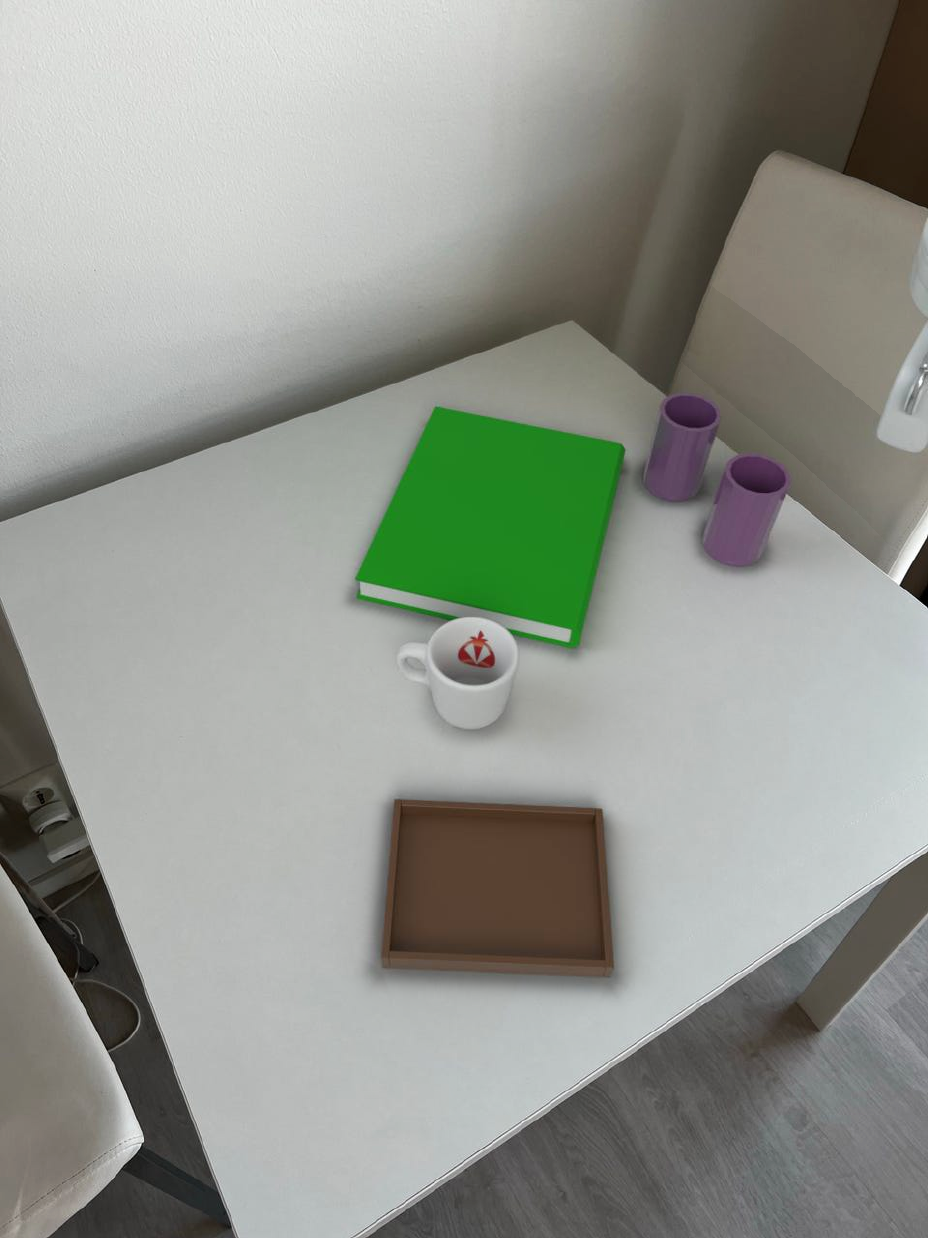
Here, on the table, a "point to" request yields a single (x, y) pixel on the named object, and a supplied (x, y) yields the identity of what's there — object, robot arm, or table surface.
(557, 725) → the table surface
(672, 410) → the tumbler
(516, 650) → the cup
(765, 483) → the plum tumbler
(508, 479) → the book
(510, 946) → the walnut tray
